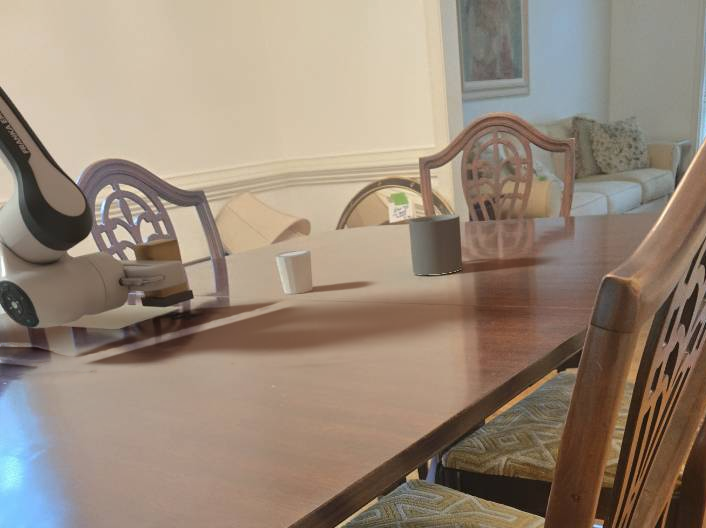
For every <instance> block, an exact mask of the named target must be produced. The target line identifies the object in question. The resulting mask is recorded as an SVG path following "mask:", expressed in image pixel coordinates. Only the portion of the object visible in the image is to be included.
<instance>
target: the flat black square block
mask: <svg viewBox="0 0 706 528" xmlns="http://www.w3.org/2000/svg"><path fill="white" fill-rule="evenodd" d="M184 314H187V312H183V311H171V312H168V313H165V314H162V315H159V316H156V317H155V318H156V319H172V318H175V317H178V316H181V315H184Z"/></svg>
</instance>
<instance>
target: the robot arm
mask: <svg viewBox="0 0 706 528" xmlns="http://www.w3.org/2000/svg"><path fill="white" fill-rule="evenodd" d="M0 160H1V161H2V163H3V164H4V165H5V167H6V169H7V170H8V171H9V173H10V174H11V176H12V179H13V185H14V186H13V187H14V188H13V190H14V191H13V195H11V196H10V198H9V199H8V200H7V201H6V203H4V205H2V206H1V207H0V306H1V309H3V311H4V312H5V313H6V315H7V316H8V317H9V318H10V319H11V320H13V322H15V323H16V324H18V325H20V326H23V327H24V328H30V329H46V328H52V327H58V326H57V325H62V324H66V323H69V322H73V321H76V320H78V319H79V318H81V317H82V316H84V315H96V314H100V313H103V312H106V311H110V310H113V309H116V308H119V307H122V306H123V305H126V303H127V301H128V298H129V294H130V292H143V293H144V292H147V291H157V290H162V289H166V288H170V287H174V286H178V285H182V284H184V283H185V280H186V274H185V269H184V265H183V262H182V263H181V261H182V260H181V261H153V260H136V259H134V260H131V259H124V260H123V259H119V260H118V259H117V258H116V257H114V255H111V254H110V253H108V252H106V251H96V252H91V253H86V254H83V255H77V256H72V255H70V254H69V253H68V251H69V250H71V249H73V248H74V247H76V246H77V245H78V244H80V243H82V242H83V241H85V240H86V239H87V238H88V237H89V235H90V234H91V231H92V229H93V226H94V224H93V223H94V218H93V211H92V208H91V204H90V202H89V200H88V198H87V196H86V194H85V193H84V191H83V190H82V189H81V187H80V186H79V185H78V184H77V183H76V182H75V181H74V180H73V178H71V176H69V175H68V174H67V173H66V172H65V170H63V168H62V167H61V166H60V165H59V164H58V163H57V160H55V159H54V157H53V156H52V155H51V153H50V152H49V150H48V149H47V148H46V147H45V145H44V143H43V142H42V141H41V139H40V138H39V137H38V135H37V134H36V132H35V131H34V130H33V128H32V126H30V123H28V121H27V120H26V119H25V117H24V115H23V114H22V113H21V111H20V110H19V109H18V107H17V106H16V105H15V103H14V102H13V100H12V99H11V98H10V97H9V95H8V93H6V91H5V90H4V89H3V88H2V87H1V86H0Z"/></svg>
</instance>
